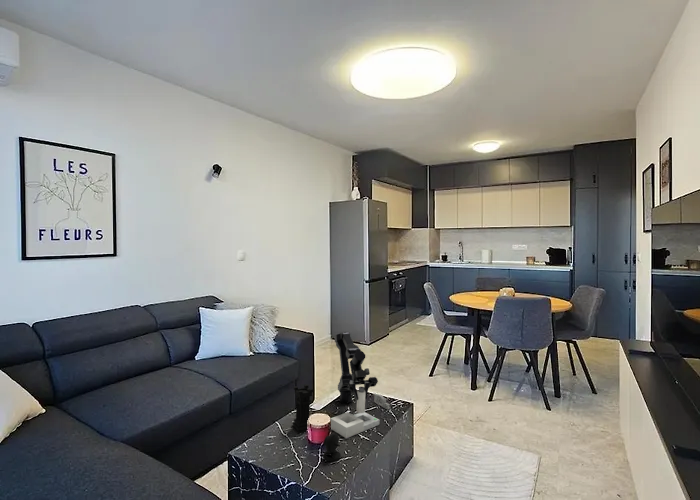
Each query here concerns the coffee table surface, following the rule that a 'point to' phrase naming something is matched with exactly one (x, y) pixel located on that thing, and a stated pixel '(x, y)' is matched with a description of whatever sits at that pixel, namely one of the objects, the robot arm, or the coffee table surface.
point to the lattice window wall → (383, 401)
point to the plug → (361, 400)
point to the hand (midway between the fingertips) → (361, 399)
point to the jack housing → (353, 423)
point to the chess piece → (302, 408)
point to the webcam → (331, 447)
